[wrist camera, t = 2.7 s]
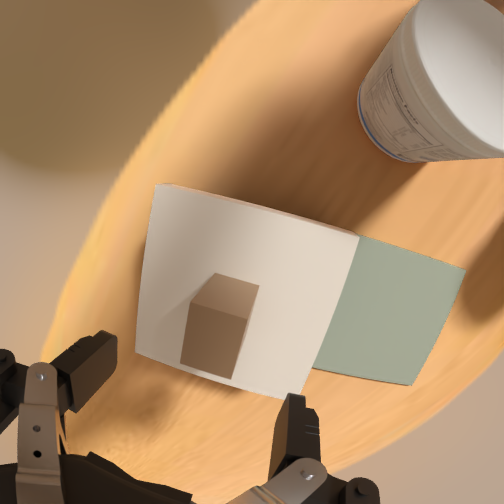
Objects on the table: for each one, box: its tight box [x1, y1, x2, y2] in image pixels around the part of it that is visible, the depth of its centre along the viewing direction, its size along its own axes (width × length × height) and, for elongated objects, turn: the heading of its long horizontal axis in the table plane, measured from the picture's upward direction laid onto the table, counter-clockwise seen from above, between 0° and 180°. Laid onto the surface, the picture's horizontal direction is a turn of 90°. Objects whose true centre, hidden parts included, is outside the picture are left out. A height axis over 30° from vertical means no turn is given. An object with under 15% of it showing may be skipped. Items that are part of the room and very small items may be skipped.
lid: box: [135, 183, 360, 400], centre depth 19 cm, size 13×13×7 cm
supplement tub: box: [357, 0, 504, 163], centre depth 15 cm, size 10×10×15 cm
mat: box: [312, 233, 466, 386], centre depth 27 cm, size 14×13×1 cm
